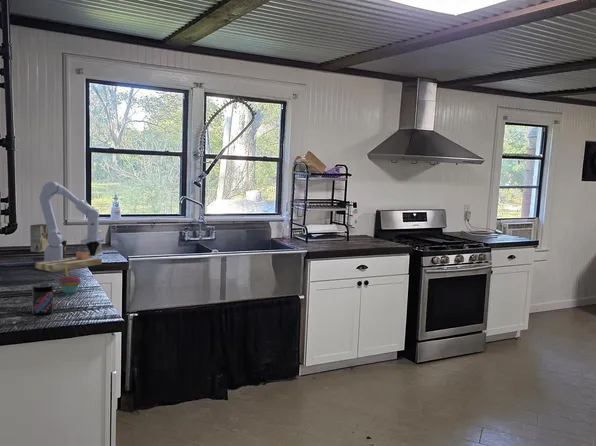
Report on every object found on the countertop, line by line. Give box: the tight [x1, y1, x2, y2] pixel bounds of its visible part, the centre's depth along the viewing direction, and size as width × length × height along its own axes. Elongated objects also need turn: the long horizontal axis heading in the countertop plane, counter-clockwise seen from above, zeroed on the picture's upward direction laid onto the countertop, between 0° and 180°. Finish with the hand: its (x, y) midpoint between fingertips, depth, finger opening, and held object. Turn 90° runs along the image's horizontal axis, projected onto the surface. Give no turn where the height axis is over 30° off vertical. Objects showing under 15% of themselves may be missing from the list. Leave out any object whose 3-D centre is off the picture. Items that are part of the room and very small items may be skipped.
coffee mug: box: [62, 239, 68, 259], centre depth 298 cm, size 12×9×10 cm
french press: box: [83, 229, 104, 256], centre depth 315 cm, size 10×12×25 cm
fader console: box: [34, 256, 103, 273], centre depth 274 cm, size 14×30×3 cm, turn 152°
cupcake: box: [58, 265, 82, 294], centre depth 219 cm, size 9×8×12 cm
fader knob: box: [75, 250, 90, 259], centre depth 281 cm, size 5×4×4 cm
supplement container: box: [31, 282, 54, 317], centre depth 186 cm, size 7×7×10 cm
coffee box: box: [29, 223, 49, 253], centre depth 316 cm, size 9×6×16 cm
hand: (92, 255), depth 287 cm, fingers closed
